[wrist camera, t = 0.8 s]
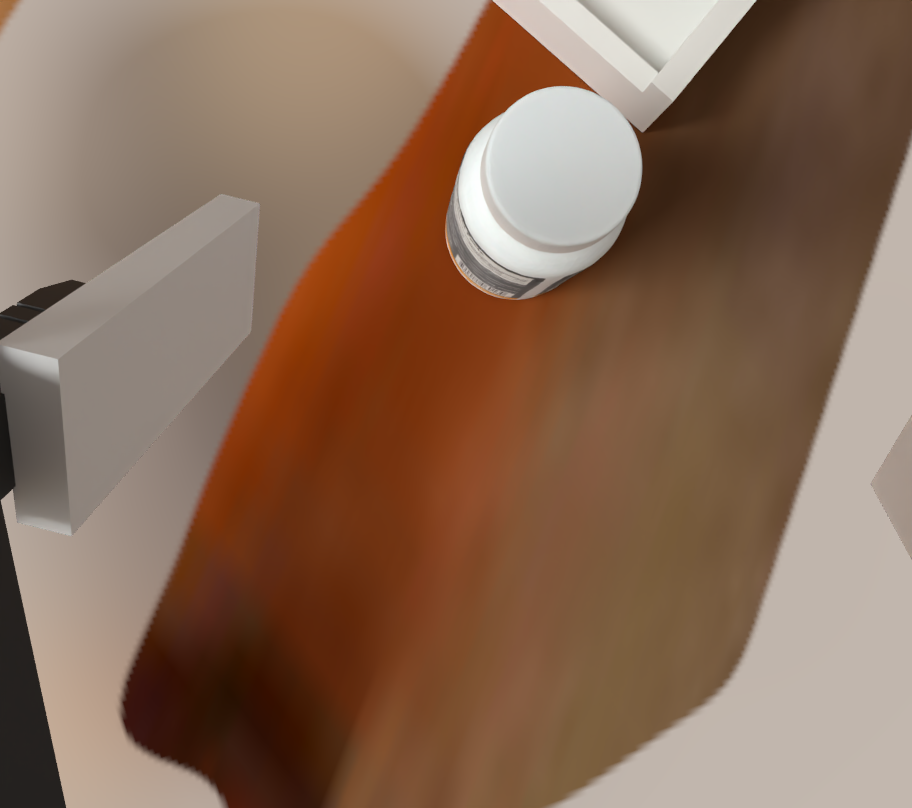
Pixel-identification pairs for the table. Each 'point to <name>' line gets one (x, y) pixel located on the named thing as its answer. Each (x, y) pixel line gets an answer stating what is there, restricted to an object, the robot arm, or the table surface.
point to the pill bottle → (542, 192)
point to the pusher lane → (631, 44)
